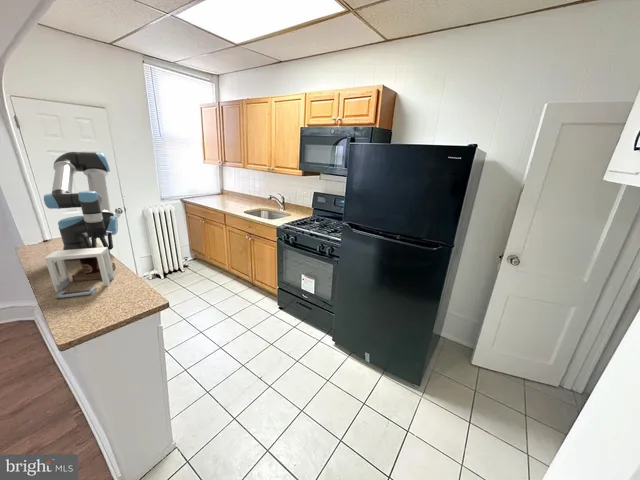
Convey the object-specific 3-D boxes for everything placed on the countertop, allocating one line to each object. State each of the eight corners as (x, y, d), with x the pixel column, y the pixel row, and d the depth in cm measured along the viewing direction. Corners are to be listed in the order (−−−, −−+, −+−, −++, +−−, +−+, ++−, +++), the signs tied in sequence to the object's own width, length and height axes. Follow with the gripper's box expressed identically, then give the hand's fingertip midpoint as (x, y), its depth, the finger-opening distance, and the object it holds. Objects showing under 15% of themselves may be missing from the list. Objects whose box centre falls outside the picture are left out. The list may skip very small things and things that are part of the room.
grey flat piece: (62, 293, 116) (61, 290, 115) (96, 289, 120) (95, 287, 120) (56, 299, 111) (56, 296, 111) (91, 295, 116) (91, 292, 115)
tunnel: (65, 282, 125) (55, 250, 120) (114, 277, 132) (107, 246, 127) (55, 291, 117) (44, 257, 112) (108, 285, 124) (100, 253, 119)
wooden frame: (90, 265, 144) (86, 248, 141) (120, 262, 149) (116, 246, 146) (73, 281, 126) (67, 262, 123) (107, 277, 131) (103, 259, 128)
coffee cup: (90, 281, 127) (83, 257, 123) (79, 278, 129) (72, 254, 125) (109, 274, 135) (103, 251, 131) (98, 271, 137) (92, 248, 133)
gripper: (71, 223, 131) (82, 266, 138) (110, 221, 137) (119, 262, 144) (77, 220, 138) (88, 260, 145) (115, 218, 143) (123, 257, 151)
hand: (103, 261), depth 144 cm, fingers closed on wooden frame, 3 cm apart
